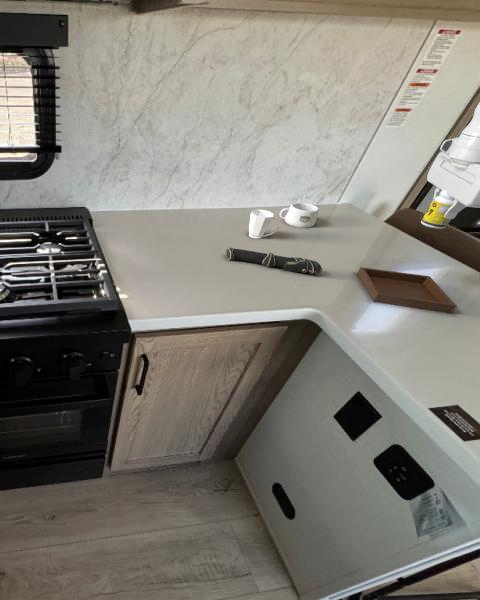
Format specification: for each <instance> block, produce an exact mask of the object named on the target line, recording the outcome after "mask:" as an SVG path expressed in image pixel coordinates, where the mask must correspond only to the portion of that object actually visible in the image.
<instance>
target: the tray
mask: <svg viewBox="0 0 480 600" xmlns="http://www.w3.org/2000/svg"><path fill="white" fill-rule="evenodd" d="M356 276H357V278H358V279H359V281H360V283H361V285H362V286H363V288H364V289H365V291H366V293H367V294H368V296H369V297H370V299H371V301H372V302H373V303H377V304H383V305H392V306H397V307H405V308H411V309H417V310H424V311H430V312H437V313H443V314H452V312H453V311H454V310H455V309H456V307H457V304H456V303H455V302H454V301H453V300H452V299H451V298H450V297H449V296H448V294H446V292H445V291H444V290H443V289H442V288H441V287H440V286H439V284H438V283H436V281H434V279H433V278H432V277H431V276H430V275H424V274H416V273H407V272H400V271H393V270H387V269H386V270H385V269H378V268H370V267H364V266H363V267H362V266H360V267H359V269H358V271H357V272H356Z"/></svg>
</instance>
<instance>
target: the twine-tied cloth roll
mask: <svg viewBox="0 0 480 600" xmlns="http://www.w3.org/2000/svg"><path fill="white" fill-rule="evenodd" d="M225 250H226V252H225V256H226V258H227V260H228V261H232V260H237V261H243V262H250V263H256V264H262V265H263V266H265V267H267V268H269V267H277V268H281V269H282V268H283V270H285V271H289V272H295V273H304V274H305V273H308V274H321V273H322V272H323V267H322V264H321V263H320V262H318V261H316V260H315V259H314V260H313V259H308V258H303V257H296V256H291V257H288V256H283V255H277V254H274V253H273V252H268V253H266V252H258V251H254V250H248V249H241V248H234V247H227V248H226V249H225Z"/></svg>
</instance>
